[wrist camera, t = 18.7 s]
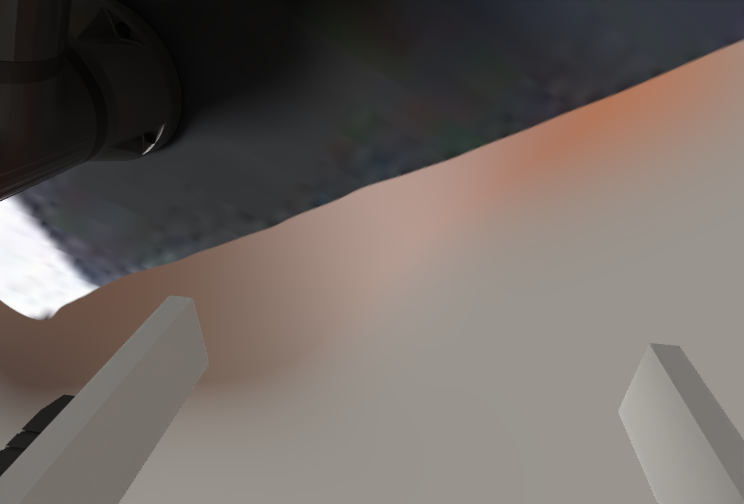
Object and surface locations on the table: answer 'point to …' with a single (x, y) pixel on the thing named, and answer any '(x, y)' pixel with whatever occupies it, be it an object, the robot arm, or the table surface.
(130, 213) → the table surface
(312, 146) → the table surface
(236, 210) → the table surface
